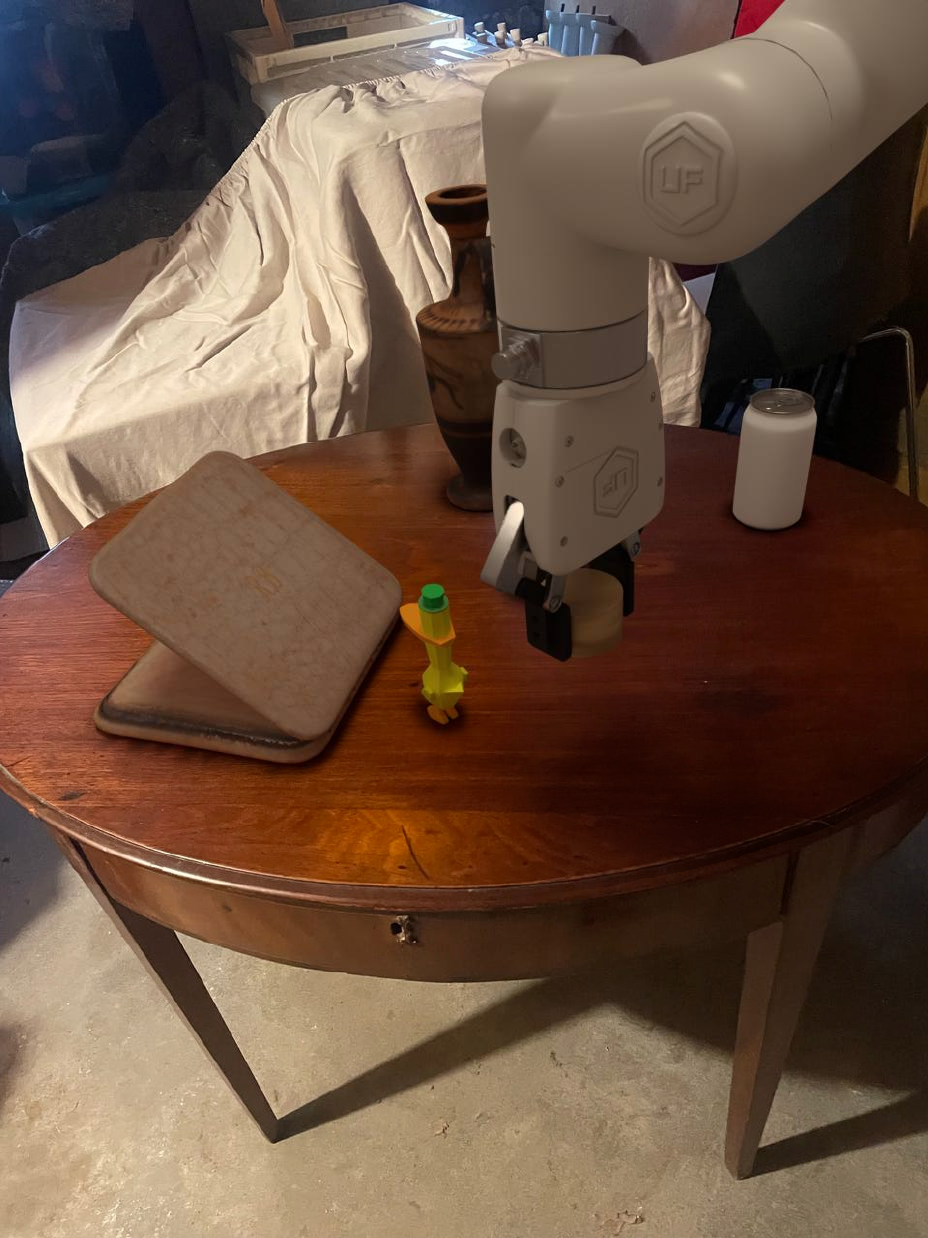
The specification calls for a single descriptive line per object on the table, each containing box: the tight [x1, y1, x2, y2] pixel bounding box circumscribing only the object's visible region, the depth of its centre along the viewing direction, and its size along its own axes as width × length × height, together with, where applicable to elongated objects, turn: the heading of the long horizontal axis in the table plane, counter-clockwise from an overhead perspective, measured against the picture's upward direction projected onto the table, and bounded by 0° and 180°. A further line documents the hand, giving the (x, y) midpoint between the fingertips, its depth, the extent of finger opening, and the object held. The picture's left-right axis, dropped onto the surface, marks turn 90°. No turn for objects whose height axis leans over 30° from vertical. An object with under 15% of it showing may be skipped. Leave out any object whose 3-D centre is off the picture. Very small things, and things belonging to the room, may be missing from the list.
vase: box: [414, 183, 503, 512], centre depth 86 cm, size 11×11×30 cm
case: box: [87, 450, 403, 764], centre depth 69 cm, size 20×21×16 cm
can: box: [732, 387, 818, 531], centre depth 83 cm, size 6×6×12 cm
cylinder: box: [541, 567, 624, 659], centre depth 55 cm, size 5×5×3 cm
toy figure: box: [399, 583, 469, 725], centre depth 64 cm, size 7×4×12 cm, turn 37°
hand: (581, 626), depth 55 cm, fingers closed on cylinder, 5 cm apart
